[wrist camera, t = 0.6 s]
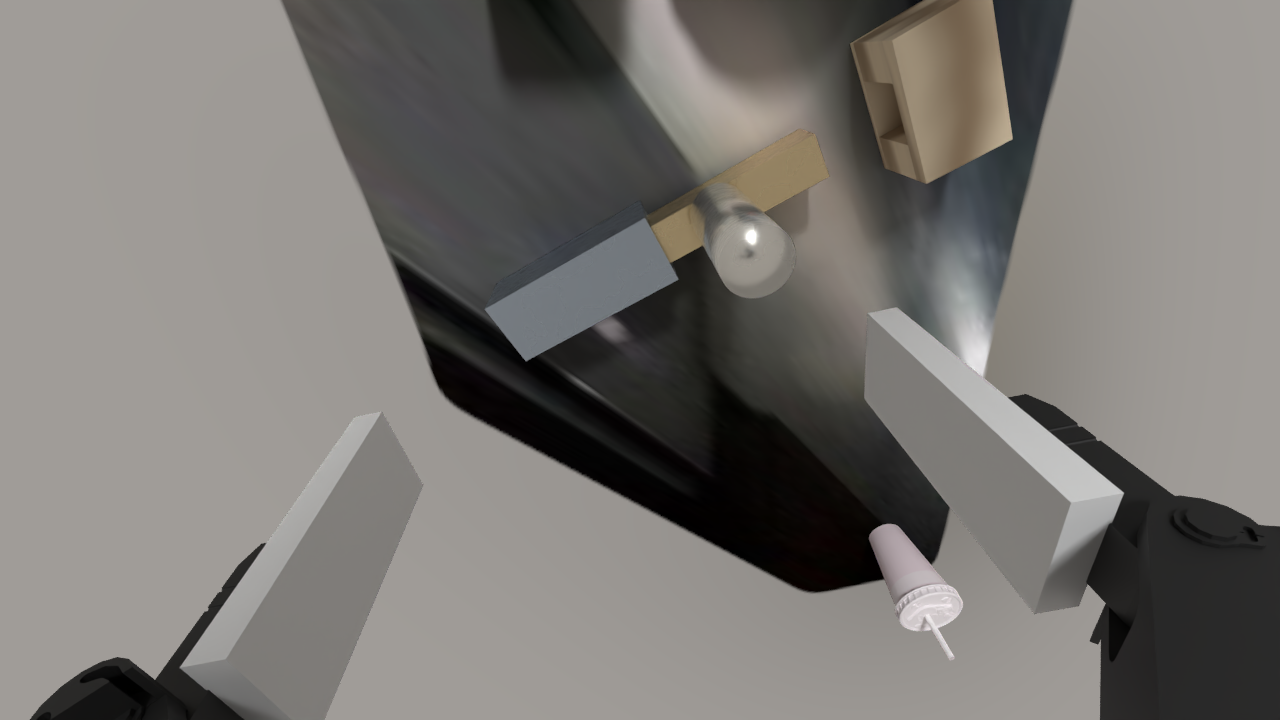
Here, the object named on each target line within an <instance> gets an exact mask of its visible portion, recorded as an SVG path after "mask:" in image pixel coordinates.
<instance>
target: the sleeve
mask: <svg viewBox="0 0 1280 720" xmlns="http://www.w3.org/2000/svg"><path fill="white" fill-rule="evenodd" d="M647 215H648V214H647V212H646V210H645V209H644V207H643V205H642V203H641V201H638V202H636V203H634V204H633V205H631V206H629V207H627V208H626V209H624V210H622V211H620V212H619V213H617V214H615V215H614V216H612V217H610V218H608V219H607V220H605V221H603V222H601V223H600V224H598V225H596V226H595V227H593V228H591V229H589V230H588V231H586V232H584V233H582V234H581V235H579V236H577V237H576V238H574V239H572V240H570V241H569V242H567V243H565V244H563V245H562V246H560V247H558V248H557V249H555V250H553V251H551V252H550V253H548V254H546V255H544V256H543V257H541V258H539V259H538V260H536V261H534V262H532V263H531V264H529V265H527V266H525V267H524V268H522V269H520V270H519V271H517V272H515V273H513V274H512V275H510V276H508V277H506V278H505V279H503V280H501V281H500V282H498V283H497V284H496V286H495V288H494V290H493V293H492V295H491V297H490V299H489V301H488V303H487V305H486V307H485V310H486V312H487V313H488V314H489V315H490V317H491V318H492V319H493V320H494V322H495V323H496V324H497V325H498V327H499V328H500V329H501V331H502V332H503V333H504V334H505V336H506V337H507V338H508V339H509V341H510V342H511V343H512V344H513V346H514V347H515V348H516V349H517V351H518V352H519V353H520V354H521V356H522V357H523V358H524V360H525V361H527V360H529V359H531V358H533V357H535V356H537V355H539V354H540V353H542V352H544V351H546V350H548V349H550V348H552V347H553V346H555V345H557V344H559V343H561V342H563V341H565V340H567V339H568V338H570V337H572V336H574V335H576V334H578V333H580V332H581V331H583V330H585V329H587V328H589V327H591V326H593V325H595V324H596V323H598V322H600V321H602V320H604V319H606V318H608V317H610V316H611V315H613V314H615V313H617V312H619V311H621V310H623V309H624V308H626V307H628V306H630V305H632V304H634V303H636V302H638V301H639V300H641V299H643V298H645V297H647V296H649V295H651V294H652V293H654V292H656V291H658V290H660V289H662V288H664V287H666V286H667V285H669V284H671V283H673V282H675V281H677V280H679V279H678V276H677V273H676V271H675V268H674V265H673V262H671V263H670V261H669V260H668V258H667V256H666V254H665V252H664V251H663V249H662V247H661V245H660V243H659V241H658V240H657V238H656V236H655V234H654V232H653V230H652V229H651V227H650V225H649V222H648V219H647Z"/></svg>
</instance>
